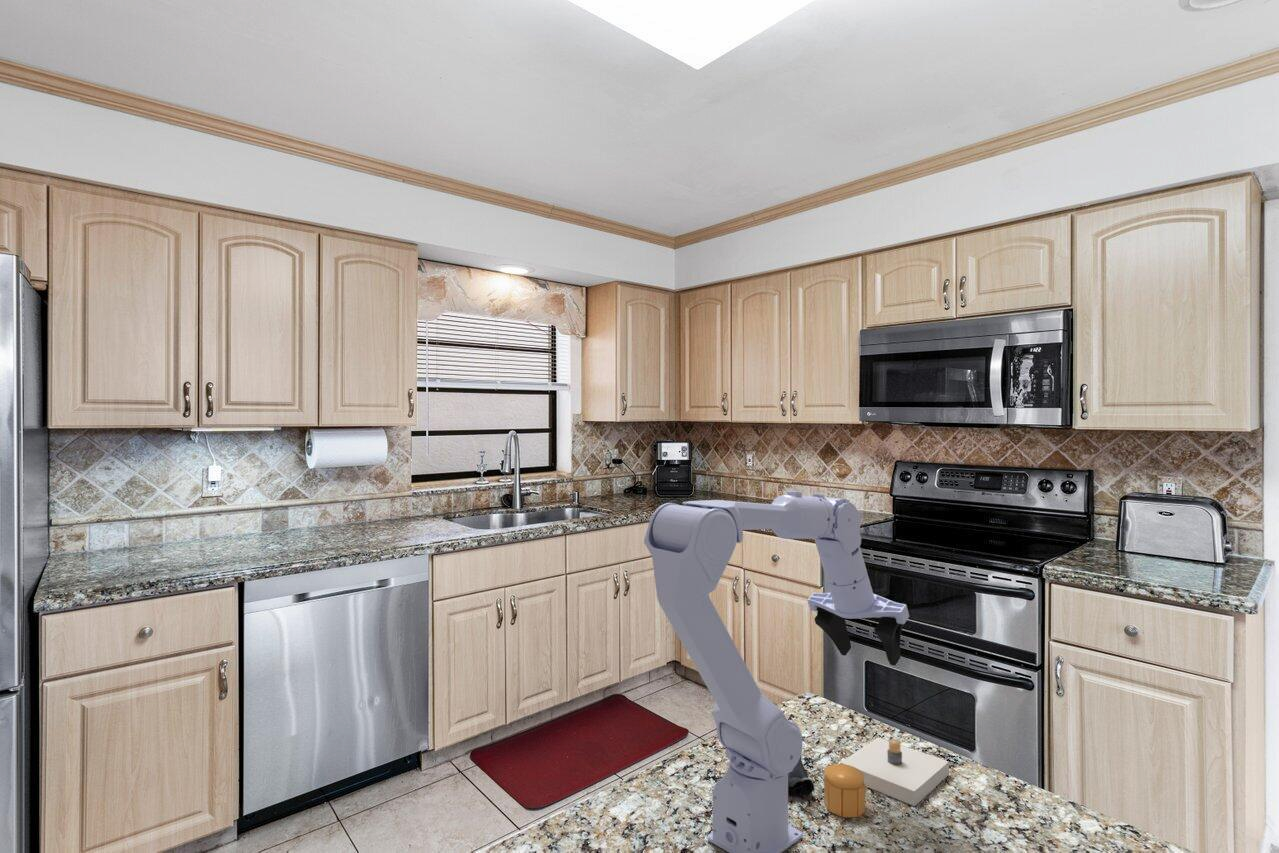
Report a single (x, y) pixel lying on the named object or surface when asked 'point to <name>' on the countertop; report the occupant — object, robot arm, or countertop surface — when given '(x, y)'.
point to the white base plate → (898, 770)
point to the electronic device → (800, 780)
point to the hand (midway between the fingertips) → (870, 656)
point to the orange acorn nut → (844, 790)
